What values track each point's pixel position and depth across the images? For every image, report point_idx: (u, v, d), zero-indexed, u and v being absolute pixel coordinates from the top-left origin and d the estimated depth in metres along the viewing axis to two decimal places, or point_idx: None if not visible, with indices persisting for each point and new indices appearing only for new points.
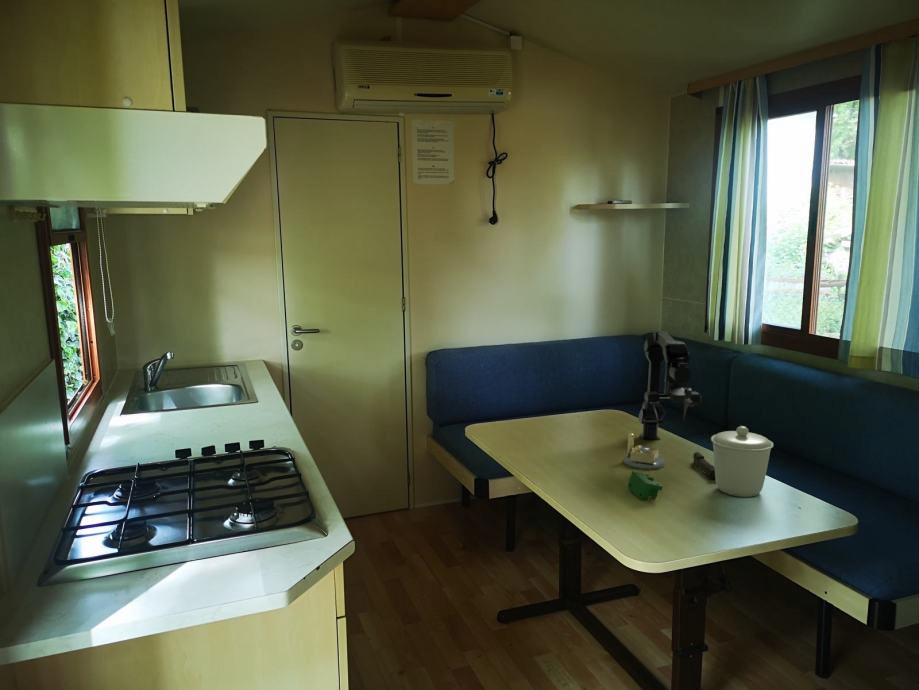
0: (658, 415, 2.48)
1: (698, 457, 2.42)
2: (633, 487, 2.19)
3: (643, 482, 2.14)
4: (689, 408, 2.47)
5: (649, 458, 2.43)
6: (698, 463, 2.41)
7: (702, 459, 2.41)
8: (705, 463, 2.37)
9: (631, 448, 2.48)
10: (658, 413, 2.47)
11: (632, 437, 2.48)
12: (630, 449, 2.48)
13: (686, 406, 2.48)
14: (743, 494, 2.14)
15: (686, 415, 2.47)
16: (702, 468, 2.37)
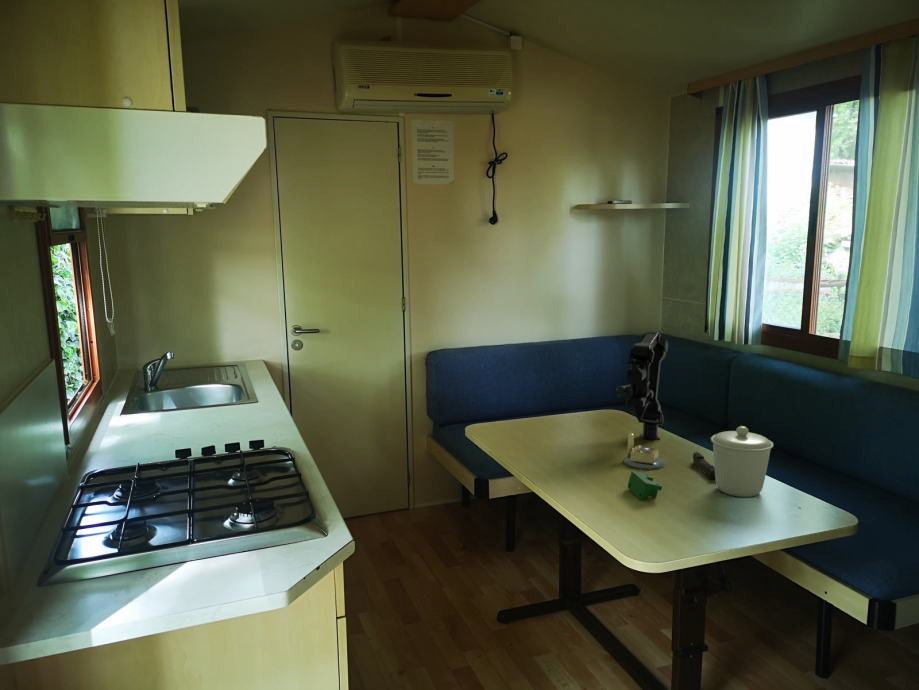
0: None
1: (698, 457, 2.42)
2: (633, 487, 2.19)
3: (642, 482, 2.14)
4: None
5: (649, 458, 2.43)
6: (698, 463, 2.41)
7: (702, 459, 2.41)
8: (705, 463, 2.37)
9: (631, 448, 2.48)
10: None
11: (632, 437, 2.48)
12: (630, 449, 2.48)
13: None
14: (743, 494, 2.14)
15: None
16: (702, 468, 2.37)
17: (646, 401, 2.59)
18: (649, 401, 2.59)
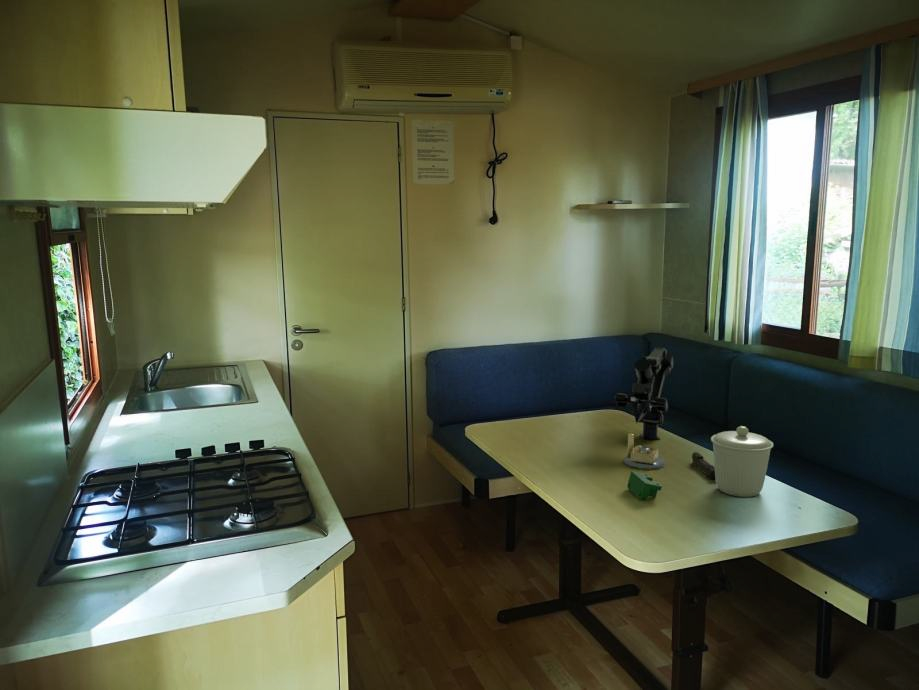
0: (635, 415, 2.56)
1: (697, 457, 2.42)
2: (632, 487, 2.19)
3: (642, 482, 2.14)
4: (642, 409, 2.57)
5: (649, 458, 2.43)
6: (698, 463, 2.41)
7: (701, 459, 2.41)
8: (705, 463, 2.37)
9: (631, 448, 2.48)
10: (636, 413, 2.57)
11: (632, 437, 2.48)
12: (630, 449, 2.48)
13: None
14: (743, 494, 2.14)
15: (638, 415, 2.56)
16: (702, 468, 2.37)
17: None
18: None
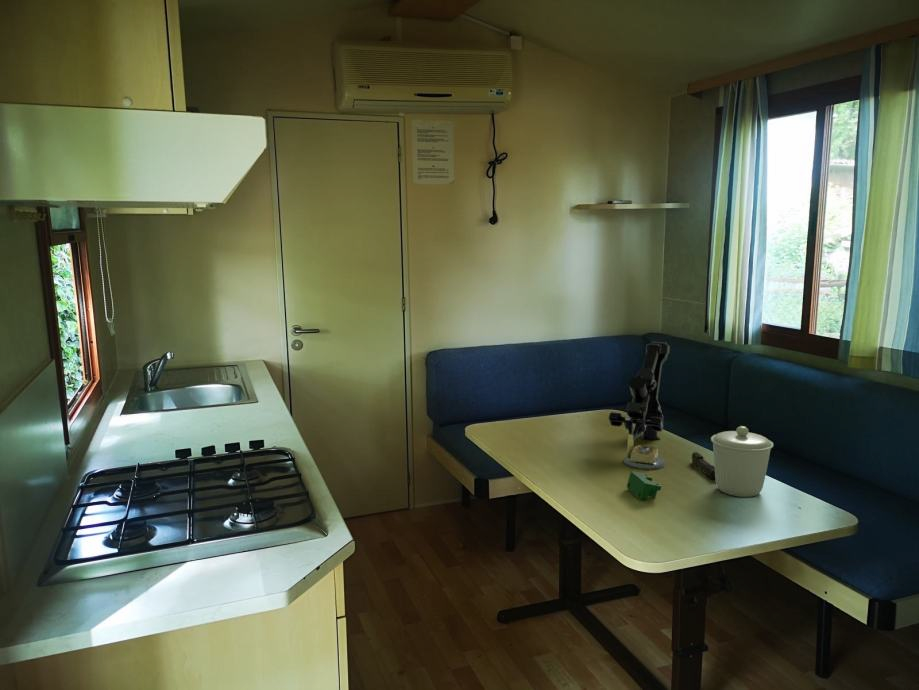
0: None
1: (697, 457, 2.42)
2: (632, 487, 2.19)
3: (641, 482, 2.13)
4: (636, 428, 2.51)
5: (650, 458, 2.43)
6: (698, 463, 2.41)
7: (701, 459, 2.41)
8: (705, 463, 2.37)
9: (631, 448, 2.48)
10: None
11: (632, 437, 2.48)
12: (630, 449, 2.48)
13: None
14: (743, 494, 2.14)
15: None
16: (702, 468, 2.37)
17: None
18: None
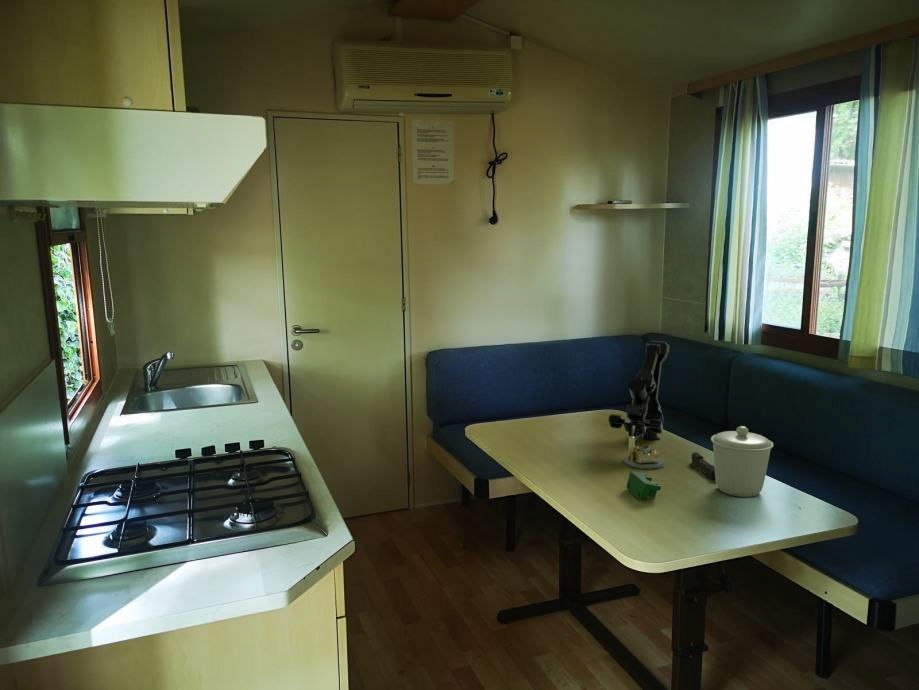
0: None
1: (697, 457, 2.42)
2: (631, 487, 2.19)
3: (641, 482, 2.13)
4: (636, 431, 2.51)
5: (656, 457, 2.44)
6: (698, 463, 2.41)
7: (701, 459, 2.41)
8: (705, 463, 2.37)
9: (633, 451, 2.46)
10: (630, 435, 2.51)
11: (634, 439, 2.45)
12: (633, 452, 2.45)
13: None
14: (743, 494, 2.14)
15: None
16: (702, 468, 2.37)
17: None
18: None
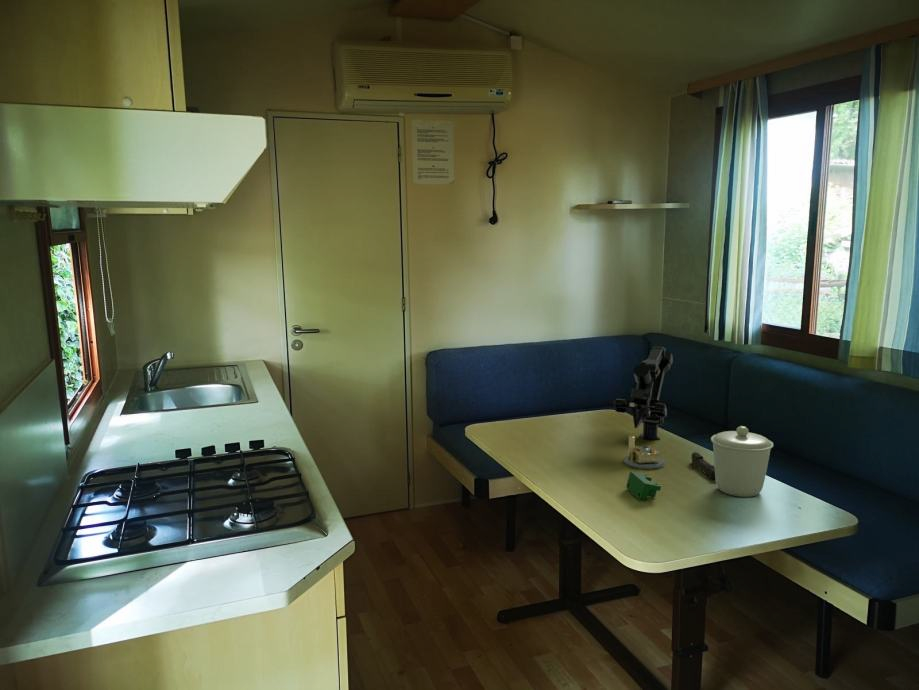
0: (634, 421, 2.55)
1: (697, 457, 2.42)
2: (631, 487, 2.19)
3: (641, 483, 2.13)
4: (641, 414, 2.55)
5: (656, 457, 2.44)
6: (698, 463, 2.41)
7: (701, 459, 2.41)
8: (705, 463, 2.37)
9: (633, 451, 2.45)
10: (635, 419, 2.55)
11: (634, 439, 2.45)
12: (633, 452, 2.45)
13: None
14: (743, 494, 2.14)
15: (637, 421, 2.55)
16: (702, 468, 2.37)
17: None
18: None
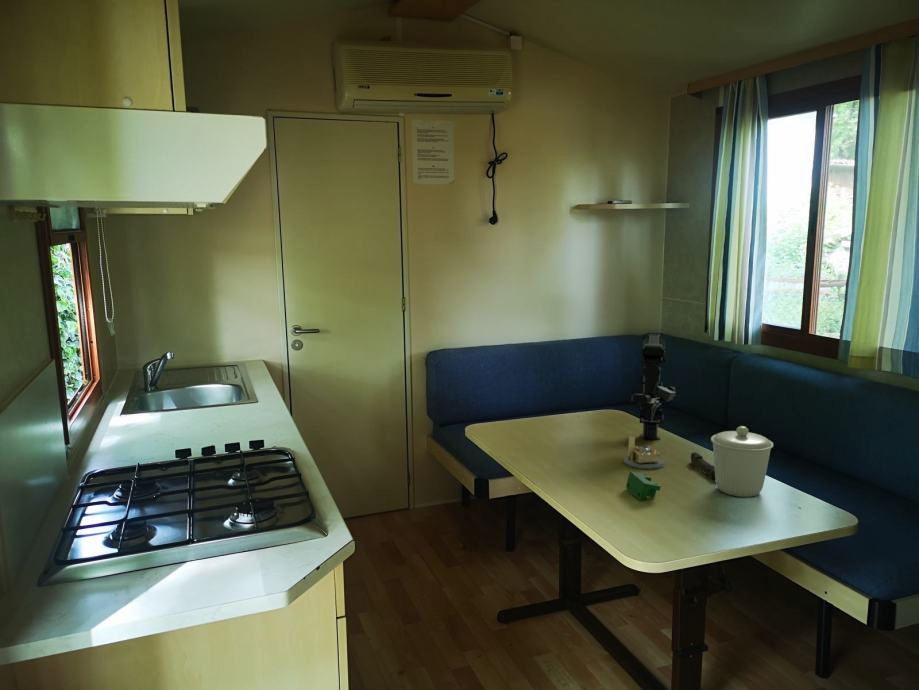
0: (651, 416, 2.57)
1: (697, 457, 2.42)
2: (631, 487, 2.19)
3: (641, 483, 2.13)
4: (655, 408, 2.58)
5: (656, 457, 2.44)
6: (697, 463, 2.41)
7: (701, 459, 2.41)
8: (705, 463, 2.37)
9: (633, 451, 2.45)
10: (652, 413, 2.57)
11: (634, 439, 2.45)
12: (633, 452, 2.45)
13: None
14: (743, 494, 2.14)
15: (653, 415, 2.58)
16: (702, 468, 2.37)
17: None
18: (640, 402, 2.59)
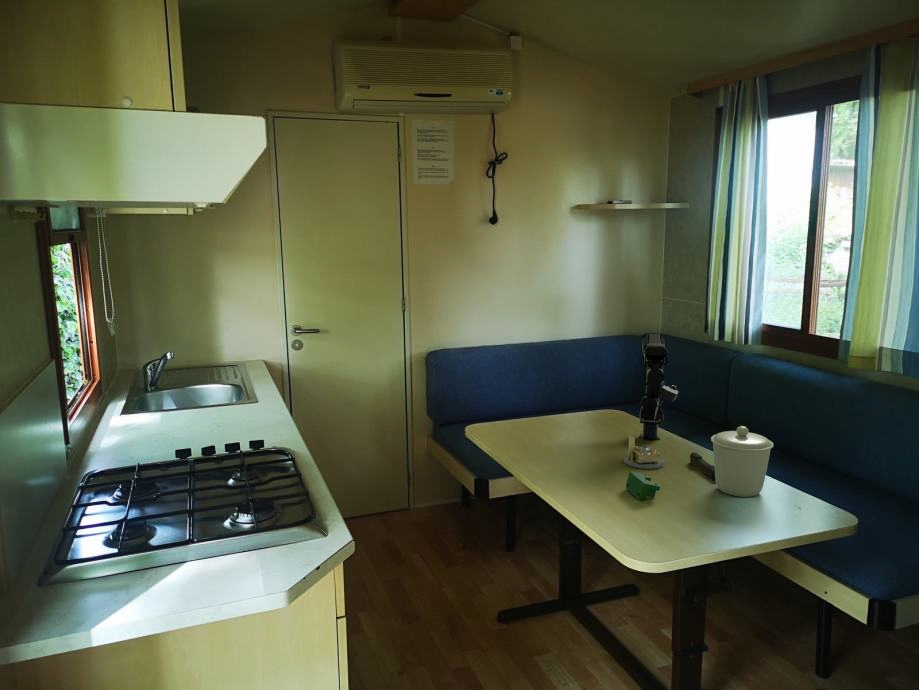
0: (655, 415, 2.58)
1: (696, 457, 2.42)
2: (631, 487, 2.19)
3: (640, 483, 2.13)
4: (657, 407, 2.59)
5: (656, 457, 2.44)
6: (697, 463, 2.41)
7: (700, 459, 2.41)
8: (705, 463, 2.37)
9: (633, 451, 2.45)
10: (655, 413, 2.58)
11: (634, 439, 2.45)
12: (633, 452, 2.45)
13: None
14: (743, 494, 2.14)
15: (655, 414, 2.59)
16: (702, 468, 2.37)
17: None
18: None
